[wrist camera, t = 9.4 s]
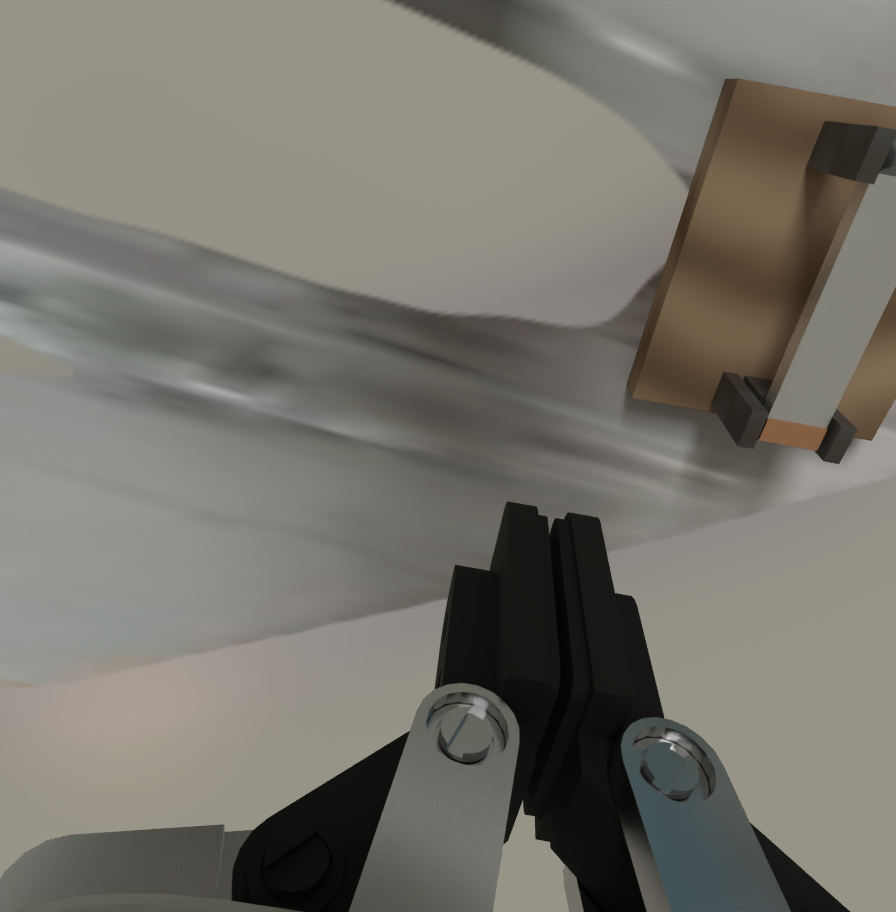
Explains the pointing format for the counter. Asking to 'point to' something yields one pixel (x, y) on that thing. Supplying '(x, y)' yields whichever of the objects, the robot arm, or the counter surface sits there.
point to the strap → (837, 316)
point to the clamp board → (765, 260)
